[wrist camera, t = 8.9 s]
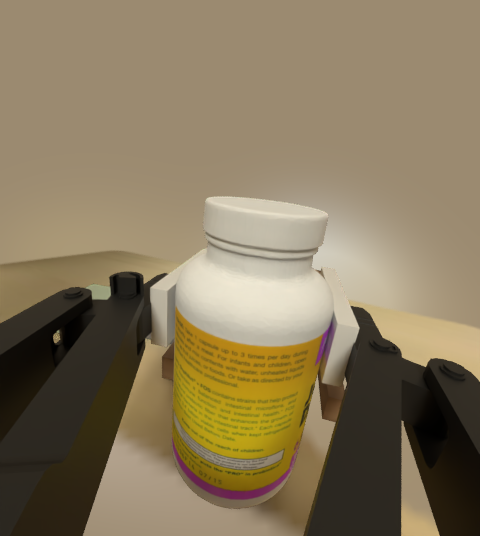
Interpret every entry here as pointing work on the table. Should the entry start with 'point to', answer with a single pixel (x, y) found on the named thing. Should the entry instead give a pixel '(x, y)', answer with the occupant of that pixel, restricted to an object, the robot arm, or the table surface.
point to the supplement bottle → (247, 348)
